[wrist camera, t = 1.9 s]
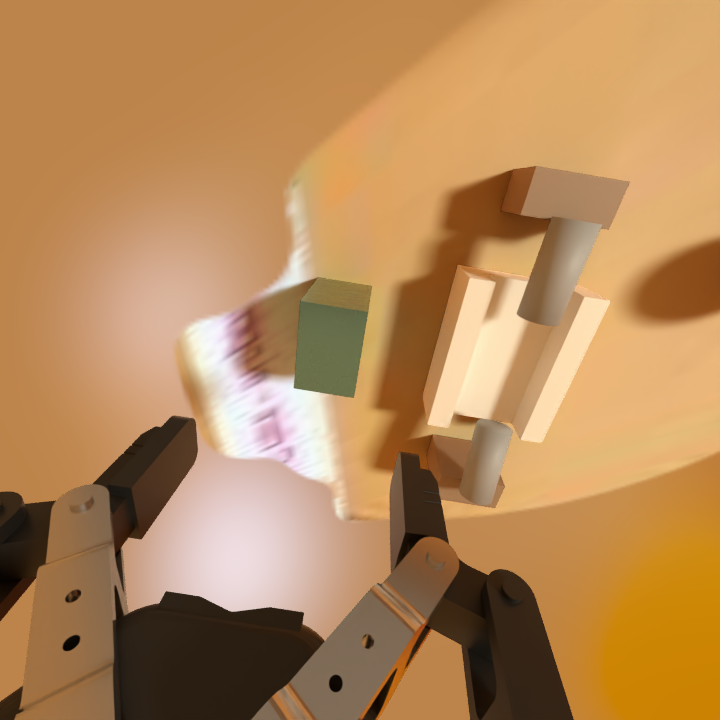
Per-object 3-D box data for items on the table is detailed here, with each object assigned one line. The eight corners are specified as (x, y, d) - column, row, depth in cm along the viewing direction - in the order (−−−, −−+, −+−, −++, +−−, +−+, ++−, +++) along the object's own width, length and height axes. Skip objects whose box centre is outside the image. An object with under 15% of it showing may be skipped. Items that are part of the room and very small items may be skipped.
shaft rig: (484, 164, 22) (526, 155, 15) (620, 187, 22) (720, 187, 15) (407, 451, 32) (412, 519, 26) (499, 466, 32) (527, 537, 26)
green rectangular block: (318, 277, 26) (300, 300, 20) (372, 285, 26) (368, 311, 20) (311, 350, 28) (293, 388, 23) (360, 358, 28) (353, 397, 23)
